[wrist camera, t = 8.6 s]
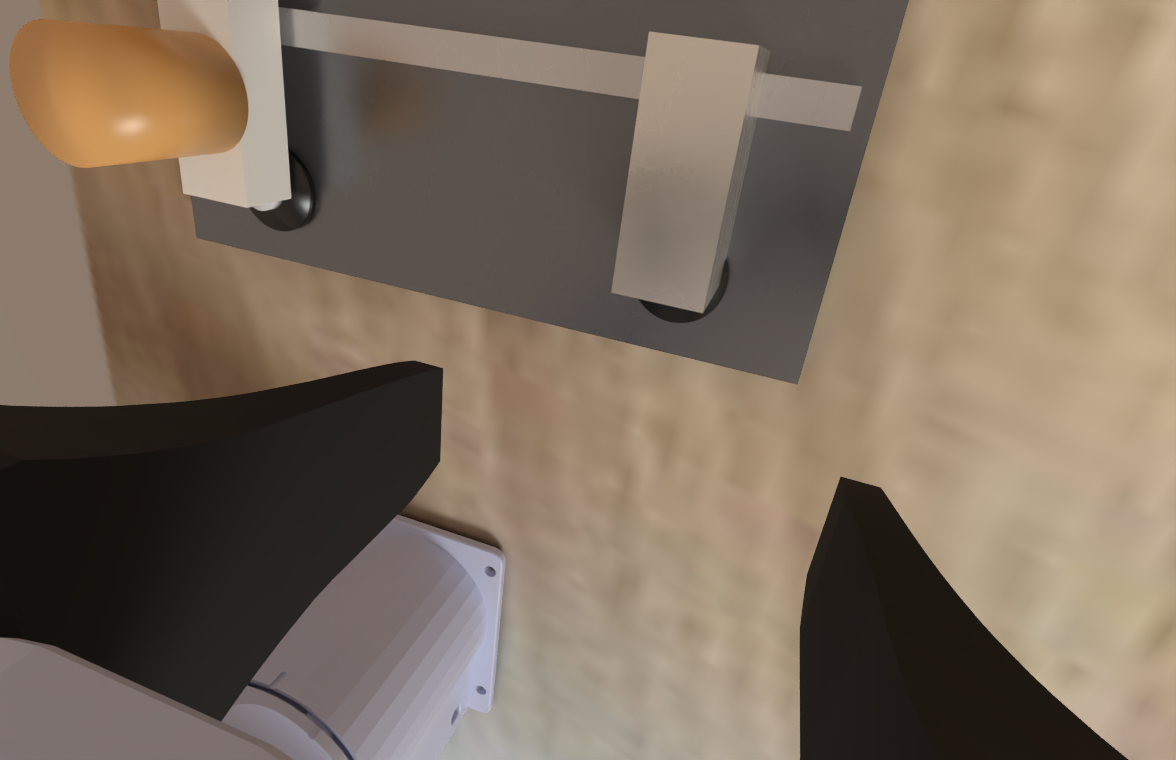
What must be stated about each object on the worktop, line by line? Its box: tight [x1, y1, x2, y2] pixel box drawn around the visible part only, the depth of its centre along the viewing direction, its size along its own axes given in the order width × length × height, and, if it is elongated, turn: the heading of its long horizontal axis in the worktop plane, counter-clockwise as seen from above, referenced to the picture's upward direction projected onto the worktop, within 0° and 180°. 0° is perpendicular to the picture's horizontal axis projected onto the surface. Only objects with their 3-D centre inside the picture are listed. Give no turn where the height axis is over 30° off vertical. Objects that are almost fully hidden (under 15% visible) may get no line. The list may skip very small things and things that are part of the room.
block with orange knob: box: [10, 0, 291, 211], centre depth 19 cm, size 7×3×6 cm, turn 173°
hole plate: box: [191, 0, 909, 384], centre depth 19 cm, size 11×22×4 cm, turn 83°
